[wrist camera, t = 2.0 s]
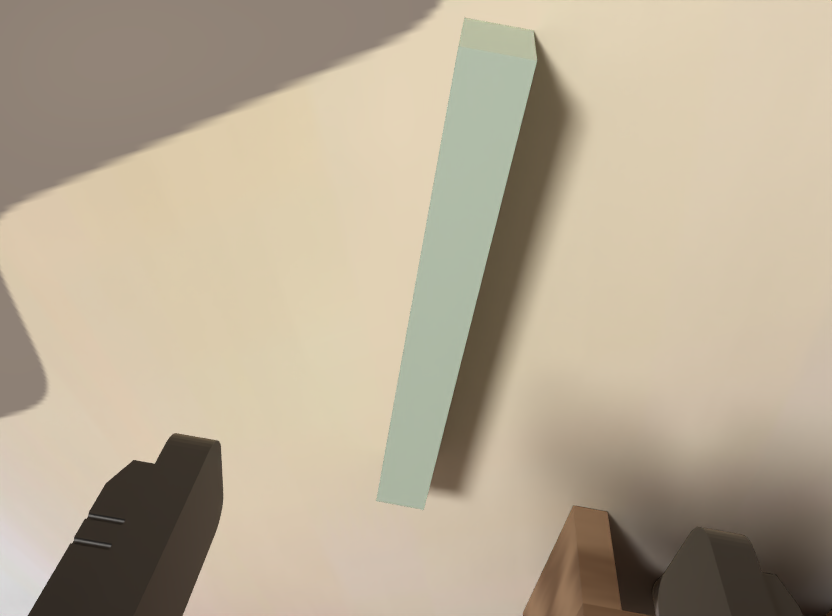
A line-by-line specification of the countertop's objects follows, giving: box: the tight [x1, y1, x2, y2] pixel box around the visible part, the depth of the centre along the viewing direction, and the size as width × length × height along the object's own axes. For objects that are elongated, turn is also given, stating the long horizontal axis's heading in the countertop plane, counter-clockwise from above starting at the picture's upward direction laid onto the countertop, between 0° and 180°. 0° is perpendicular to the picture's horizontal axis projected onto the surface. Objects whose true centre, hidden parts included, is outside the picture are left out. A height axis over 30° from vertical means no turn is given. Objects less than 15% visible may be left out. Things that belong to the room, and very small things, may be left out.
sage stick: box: [376, 18, 537, 510], centre depth 29 cm, size 23×2×4 cm, turn 171°
